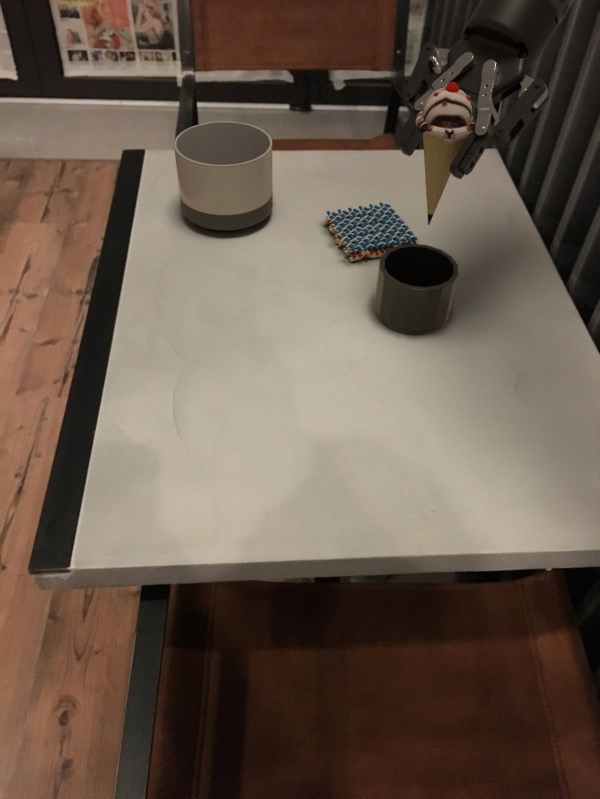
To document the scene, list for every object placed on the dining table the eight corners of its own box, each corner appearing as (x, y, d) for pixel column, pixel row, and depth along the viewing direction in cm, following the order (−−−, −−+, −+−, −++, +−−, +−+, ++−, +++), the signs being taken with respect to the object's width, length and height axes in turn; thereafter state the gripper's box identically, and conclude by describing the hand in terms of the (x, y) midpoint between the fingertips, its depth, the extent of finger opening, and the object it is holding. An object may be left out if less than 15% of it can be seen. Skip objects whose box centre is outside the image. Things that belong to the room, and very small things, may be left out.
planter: (183, 241, 92) (175, 168, 84) (180, 193, 101) (172, 123, 93) (278, 235, 93) (278, 163, 86) (267, 188, 102) (266, 119, 95)
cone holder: (458, 302, 84) (469, 258, 79) (432, 344, 78) (442, 299, 74) (391, 280, 87) (398, 236, 82) (361, 318, 81) (366, 273, 77)
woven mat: (349, 265, 89) (350, 252, 87) (321, 223, 96) (321, 210, 94) (421, 252, 91) (424, 239, 90) (389, 212, 98) (390, 199, 97)
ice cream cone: (418, 244, 71) (442, 98, 60) (391, 217, 75) (409, 74, 64) (465, 232, 73) (496, 88, 62) (436, 206, 76) (461, 66, 65)
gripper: (452, -41, 65) (358, 120, 67) (590, -5, 58) (479, 173, 60) (473, 8, 71) (386, 154, 74) (600, 46, 64) (499, 206, 67)
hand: (429, 162), depth 67 cm, fingers closed on ice cream cone, 5 cm apart
